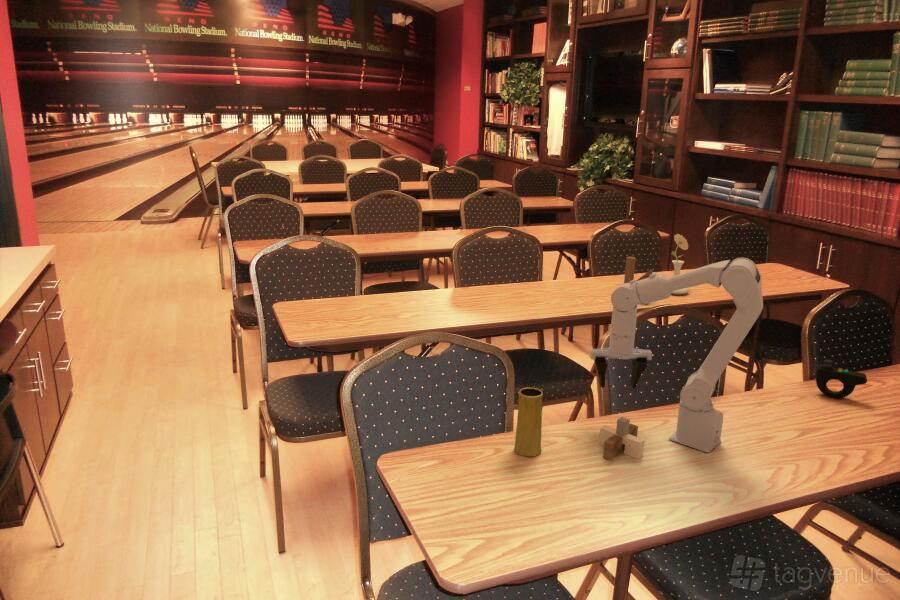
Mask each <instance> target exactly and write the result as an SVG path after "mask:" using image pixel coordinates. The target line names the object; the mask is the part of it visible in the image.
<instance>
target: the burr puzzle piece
mask: <svg viewBox="0 0 900 600" xmlns="http://www.w3.org/2000/svg"><path fill="white" fill-rule="evenodd" d="M630 421H631V420H630V419H629V418H626V417H624V416H621V417H619V418H618V419H617V420H616V428H614V427H611V426H609V425H607V424H605V425H603V426H601V427H599V428H600V430H599V438H598V439H599V441H598V444H600V445H602V446H604V442H605V441H606V440H607V439H608V438H610V437H611V436H613V435H614V434H615V435H618V436H621V437H623V438H622V444H624V445H625V451H623V452H624V455H626V456H629V457H632V458H635V459H636V460H639V459H641V458H642V457H643V456H644V449H645V448H644V447H645V439H643V438H641V437H638V436H637V437H635V436H633V435H630V434H628V432H629V424H631V423H630Z"/></svg>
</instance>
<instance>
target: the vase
mask: <svg viewBox="0 0 900 600" xmlns="http://www.w3.org/2000/svg"><path fill="white" fill-rule="evenodd" d="M543 396H544V393H543V390H541V389H540V388H536V387H523V388H521V389H519V391H518V407H517V408H518V409H517V417H516V418H517V421H516V431H515V442H514V448H513V449H514V452H515V453H517V454H518V456H519V455H520V456H521V457H522V456H523V457H528V458H529V457H531V458H532V457H533V458H534V457H536V456H538V455H541V453H542V425H543V424H542V423H543V422H542V421H543Z"/></svg>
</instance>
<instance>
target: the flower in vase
mask: <svg viewBox="0 0 900 600" xmlns="http://www.w3.org/2000/svg"><path fill="white" fill-rule="evenodd" d="M673 238H674V242H675V243H676V245H677V246H676V248H675V251H674V250H672V252H671V253H670V255H672V256H673V257H675V260H671V262H672V264H673V268H674V270H673V271H674V272H673V276H676V275H679V274H681V273H680V271H681V269H682V266H683V264H684V263H685V261H684V260H679V258H681V257H682V256H684V254H681V255H679V256H677V250H678V248H680V249H681V250H684V251H687V250H688V249H689V243H688V240H687V239H686V238H685V237H684V236H683V235H682V234H681V235H680V234H679V233H677V234H674V237H673ZM689 288H690V287H688V288H684V289H680V290H675V291H672V293H671V295H684V294H687V293H689V291H690V289H689Z"/></svg>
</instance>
